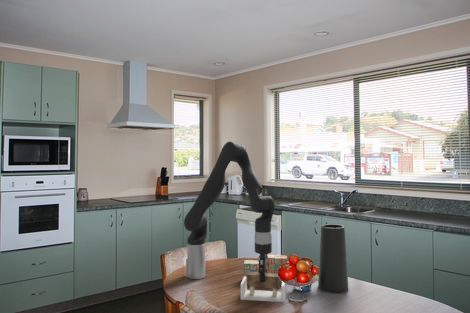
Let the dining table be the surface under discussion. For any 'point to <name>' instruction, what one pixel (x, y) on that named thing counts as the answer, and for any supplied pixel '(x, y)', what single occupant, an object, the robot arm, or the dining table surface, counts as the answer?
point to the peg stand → (262, 293)
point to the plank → (270, 280)
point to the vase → (333, 259)
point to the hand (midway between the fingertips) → (263, 279)
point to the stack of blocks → (272, 266)
